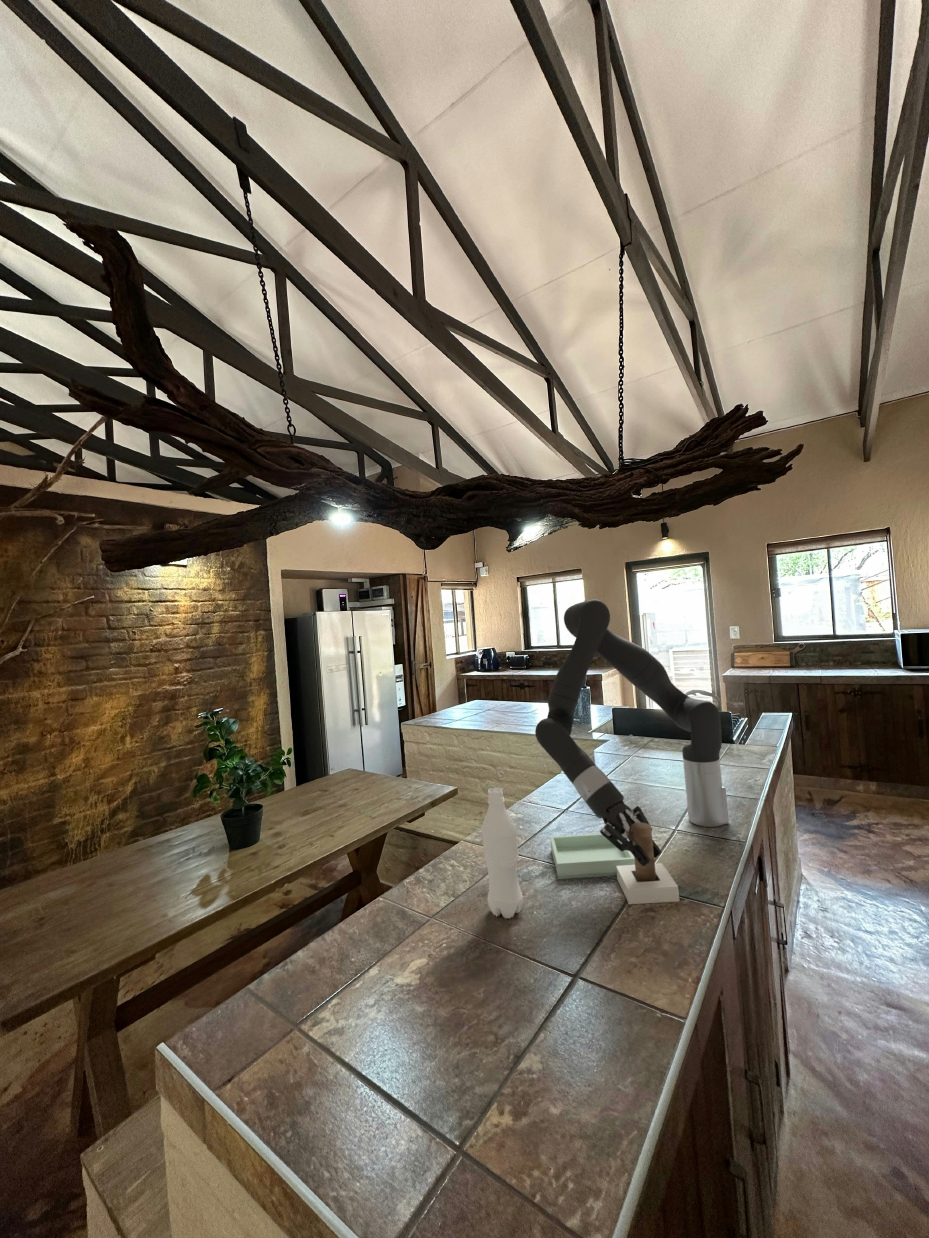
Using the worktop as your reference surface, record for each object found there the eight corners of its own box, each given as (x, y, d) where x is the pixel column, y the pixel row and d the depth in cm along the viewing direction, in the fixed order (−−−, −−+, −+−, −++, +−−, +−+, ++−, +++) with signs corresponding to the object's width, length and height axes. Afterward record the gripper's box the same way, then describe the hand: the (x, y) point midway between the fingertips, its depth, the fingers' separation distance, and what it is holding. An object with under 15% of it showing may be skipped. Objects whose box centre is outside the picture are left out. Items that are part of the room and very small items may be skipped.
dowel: (653, 877, 110) (647, 821, 110) (659, 886, 106) (653, 829, 106) (634, 878, 110) (629, 823, 111) (639, 888, 106) (634, 830, 107)
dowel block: (663, 876, 113) (661, 862, 113) (679, 901, 103) (678, 886, 103) (617, 879, 114) (616, 865, 114) (629, 904, 104) (627, 889, 104)
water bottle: (483, 917, 103) (471, 794, 104) (497, 899, 110) (486, 783, 110) (515, 924, 100) (504, 797, 100) (528, 905, 106) (517, 785, 107)
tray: (620, 845, 130) (619, 832, 130) (637, 874, 115) (635, 858, 115) (551, 850, 131) (550, 836, 131) (558, 879, 116) (557, 863, 116)
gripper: (588, 790, 109) (646, 863, 100) (623, 772, 119) (679, 838, 110) (570, 810, 113) (624, 882, 104) (606, 791, 123) (658, 855, 114)
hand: (652, 859), depth 107 cm, fingers closed on dowel, 4 cm apart
